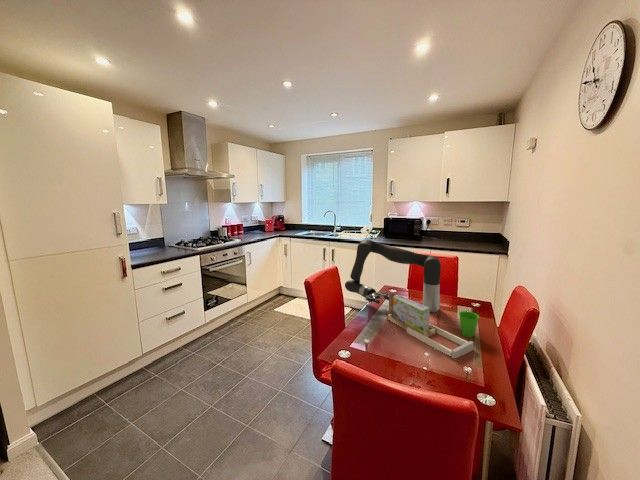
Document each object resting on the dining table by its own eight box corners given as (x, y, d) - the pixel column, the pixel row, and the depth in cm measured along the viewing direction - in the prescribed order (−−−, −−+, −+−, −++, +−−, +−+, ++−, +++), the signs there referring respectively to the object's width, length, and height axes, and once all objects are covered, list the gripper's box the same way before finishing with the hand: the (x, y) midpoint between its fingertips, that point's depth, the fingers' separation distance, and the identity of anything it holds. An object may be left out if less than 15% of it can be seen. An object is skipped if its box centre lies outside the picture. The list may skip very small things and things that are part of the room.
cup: (476, 342, 128) (478, 320, 127) (455, 336, 134) (457, 316, 132) (479, 334, 136) (480, 313, 134) (459, 329, 141) (460, 309, 139)
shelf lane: (424, 326, 145) (424, 319, 145) (473, 350, 122) (473, 342, 121) (406, 333, 139) (406, 325, 138) (454, 360, 116) (455, 351, 115)
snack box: (391, 321, 152) (392, 296, 149) (399, 318, 154) (399, 294, 152) (422, 338, 133) (423, 310, 131) (429, 335, 136) (430, 307, 133)
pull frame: (396, 312, 161) (396, 291, 159) (436, 333, 137) (437, 307, 135) (383, 317, 156) (383, 294, 154) (422, 339, 132) (423, 312, 130)
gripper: (358, 289, 171) (375, 297, 157) (375, 284, 178) (393, 292, 164) (358, 300, 172) (375, 309, 158) (375, 295, 179) (393, 303, 165)
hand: (384, 300), depth 161 cm, fingers open, 8 cm apart
